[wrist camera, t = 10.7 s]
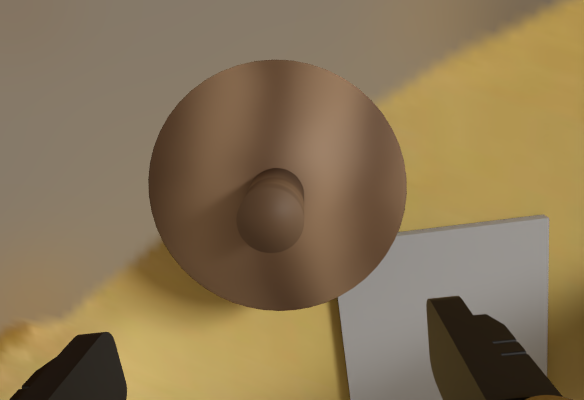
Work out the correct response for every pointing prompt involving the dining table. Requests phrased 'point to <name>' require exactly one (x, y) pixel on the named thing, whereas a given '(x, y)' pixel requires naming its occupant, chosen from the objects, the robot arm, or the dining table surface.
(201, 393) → the dining table surface
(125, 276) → the dining table surface
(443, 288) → the mat
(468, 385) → the robot arm
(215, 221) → the lid
